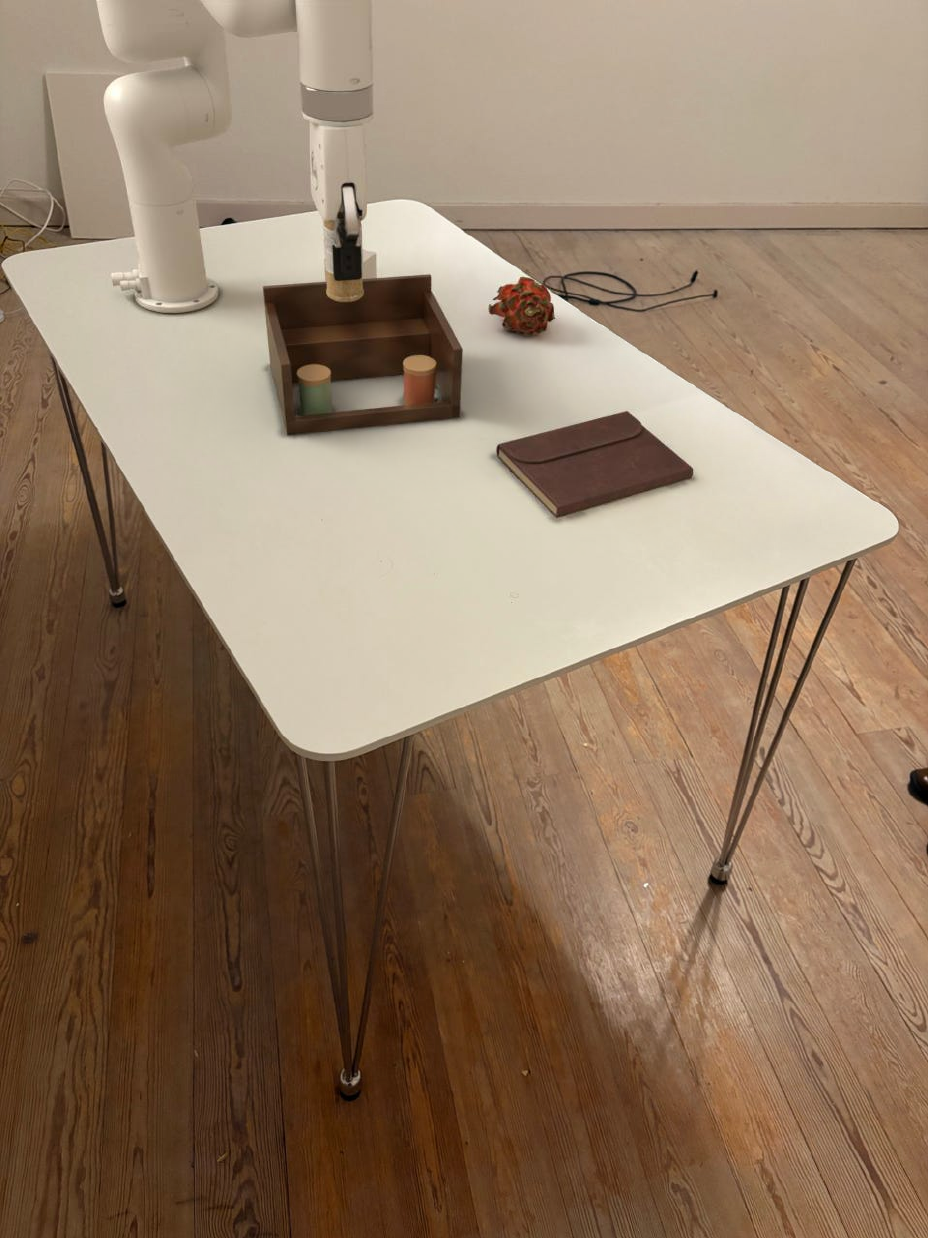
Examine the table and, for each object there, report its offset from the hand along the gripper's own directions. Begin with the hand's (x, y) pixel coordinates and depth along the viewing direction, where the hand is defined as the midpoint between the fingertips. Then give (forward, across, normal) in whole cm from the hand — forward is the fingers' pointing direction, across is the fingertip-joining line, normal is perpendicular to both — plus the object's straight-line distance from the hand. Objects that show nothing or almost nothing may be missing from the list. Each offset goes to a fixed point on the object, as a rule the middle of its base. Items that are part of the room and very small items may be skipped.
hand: (343, 268), depth 118 cm
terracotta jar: (+21, -4, +10) cm, 24 cm away
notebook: (+21, +16, +28) cm, 39 cm away
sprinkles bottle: (+4, 0, 0) cm, 4 cm away
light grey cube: (+22, -39, +8) cm, 45 cm away
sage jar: (+21, -4, -4) cm, 22 cm away
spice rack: (+21, -8, +3) cm, 23 cm away
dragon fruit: (+21, -22, +30) cm, 43 cm away
